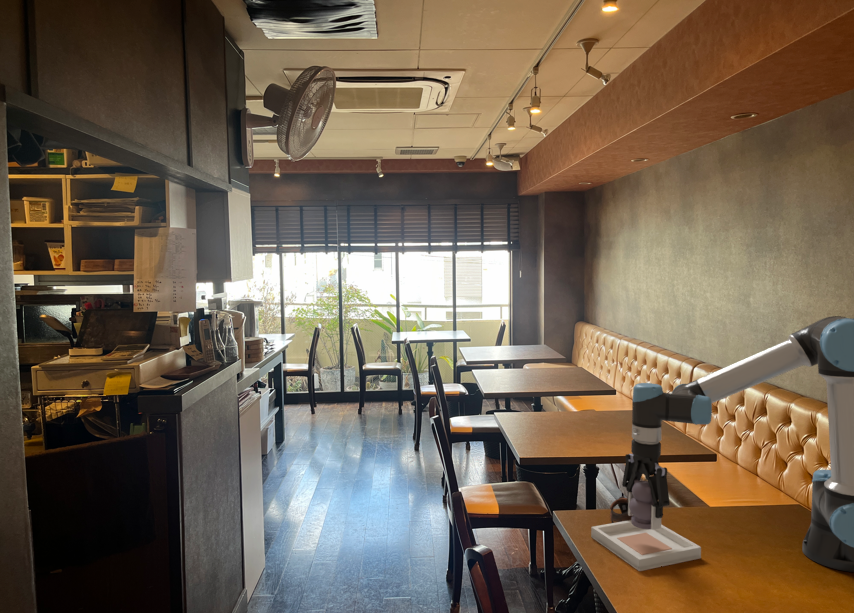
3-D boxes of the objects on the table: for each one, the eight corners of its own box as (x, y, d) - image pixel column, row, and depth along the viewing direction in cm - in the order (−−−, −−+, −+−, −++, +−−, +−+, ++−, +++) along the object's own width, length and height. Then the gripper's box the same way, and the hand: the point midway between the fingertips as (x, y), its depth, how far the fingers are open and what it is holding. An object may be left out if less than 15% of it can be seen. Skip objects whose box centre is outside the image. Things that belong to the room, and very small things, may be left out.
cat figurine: (666, 529, 153) (667, 486, 152) (640, 532, 151) (641, 488, 150) (647, 516, 161) (648, 475, 160) (622, 519, 159) (623, 477, 159)
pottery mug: (651, 530, 168) (641, 509, 166) (621, 542, 169) (610, 521, 167) (637, 504, 179) (628, 484, 177) (609, 516, 181) (599, 496, 179)
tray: (700, 558, 150) (701, 547, 150) (639, 571, 144) (639, 559, 143) (647, 526, 169) (648, 517, 169) (591, 537, 162) (591, 526, 162)
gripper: (609, 431, 163) (608, 508, 165) (663, 453, 143) (661, 540, 145) (631, 429, 166) (629, 504, 167) (686, 450, 146) (684, 536, 147)
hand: (644, 521), depth 156 cm, fingers closed on cat figurine, 8 cm apart
